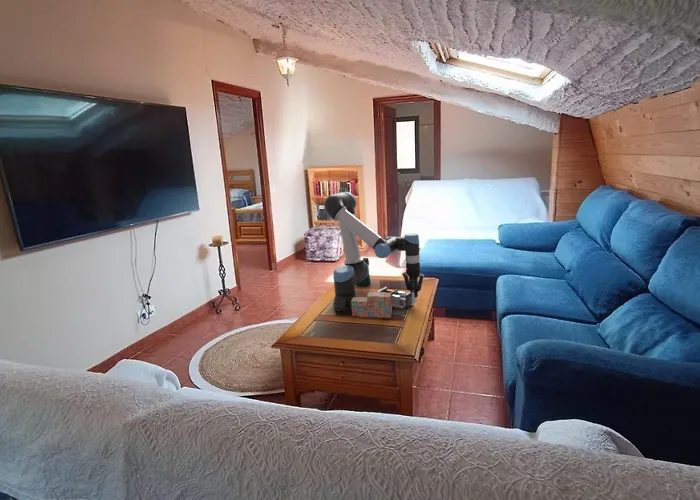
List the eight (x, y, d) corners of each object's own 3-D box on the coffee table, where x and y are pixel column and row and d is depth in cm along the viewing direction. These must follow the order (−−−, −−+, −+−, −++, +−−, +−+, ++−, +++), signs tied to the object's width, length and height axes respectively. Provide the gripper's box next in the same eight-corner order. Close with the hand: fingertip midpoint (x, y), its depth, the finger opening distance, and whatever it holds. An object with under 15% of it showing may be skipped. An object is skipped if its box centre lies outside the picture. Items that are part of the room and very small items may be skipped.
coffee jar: (371, 283, 273) (370, 256, 269) (368, 287, 266) (366, 259, 261) (358, 282, 276) (356, 256, 272) (354, 286, 269) (352, 259, 264)
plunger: (406, 308, 226) (406, 295, 224) (383, 304, 235) (382, 291, 233) (414, 303, 233) (414, 290, 231) (391, 298, 242) (390, 286, 240)
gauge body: (403, 308, 227) (402, 296, 225) (377, 303, 237) (377, 291, 235) (411, 303, 234) (410, 290, 232) (385, 298, 244) (385, 286, 242)
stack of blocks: (351, 317, 221) (350, 296, 218) (354, 312, 227) (352, 291, 224) (391, 318, 216) (389, 296, 213) (392, 313, 222) (391, 292, 219)
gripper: (426, 261, 220) (428, 302, 226) (405, 258, 228) (407, 298, 234) (420, 264, 215) (421, 306, 221) (398, 262, 222) (400, 302, 228)
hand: (414, 302), depth 227 cm, fingers closed
